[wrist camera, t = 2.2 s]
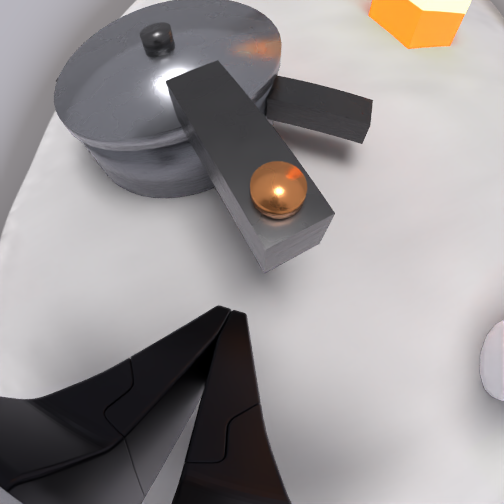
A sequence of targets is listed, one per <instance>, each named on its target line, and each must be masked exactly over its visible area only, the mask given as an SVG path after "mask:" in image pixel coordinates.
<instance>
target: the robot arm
mask: <svg viewBox="0 0 504 504" xmlns="http://www.w3.org/2000/svg"><path fill="white" fill-rule="evenodd" d="M201 396H202V397H201ZM200 398H201V401H200V405H199V409H198V413H197V416H196V420H195V424H194V428H193V432H192V435H191V439H190V443H189V447H188V451H187V455H186V458H185V464H184V466H183V470H182V474H181V477H180V480H179V484H178V487H177V490H176V493H175V495H174V498H173V501H172V504H292V503H291V501H290V499H289V497H288V495H287V492H286V490H285V487H284V484H283V481H282V479H281V476H280V473H279V470H278V467H277V464H276V462H275V459H274V456H273V453H272V450H271V447H270V443H269V440H268V436H267V433H266V428H265V424H264V419H263V414H262V408H261V404H260V396H259V390H258V384H257V378H256V371H255V365H254V359H253V352H252V346H251V340H250V333H249V327H248V320H247V315H246V314H245V313H243V312H239V311H236V310H233V311H231V309H229V308H226V307H223V306H216V307H214V308H213V309H211V310H209V311H208V312H206V313H204V314H203V315H201V316H199V317H198V318H196V319H194V320H193V321H191V322H189V323H188V324H186V325H184V326H183V327H181V328H179V329H178V330H176V331H174V332H172V333H171V334H169V335H167V336H166V337H164V338H162V339H161V340H159V341H157V342H156V343H154V344H152V345H150V346H149V347H147V348H145V349H144V350H142V351H140V352H138V353H137V354H135V355H133V356H131V359H130V358H128V359H126V360H124V361H123V362H121V363H119V364H117V365H115V366H114V367H112V368H110V369H108V370H106V371H104V372H102V373H100V374H98V375H95V376H93V377H91V378H89V379H87V380H84V381H82V382H79V383H77V384H74V385H72V386H69V387H67V388H64V389H62V390H59V391H57V392H54V393H52V394H49V395H46V396H43V397H40V398H35V399H15V398H7V397H0V504H141V503H142V501H143V500H144V497H145V496H146V494H147V492H148V491H149V489H150V487H151V486H152V484H153V482H154V480H155V479H156V477H157V475H158V473H159V472H160V470H161V468H162V466H163V464H164V463H165V461H166V459H167V457H168V456H169V454H170V452H171V450H172V449H173V447H174V445H175V443H176V441H177V440H178V438H179V436H180V434H181V432H182V431H183V429H184V427H185V425H186V423H187V422H188V420H189V418H190V416H191V414H192V413H193V411H194V409H195V407H196V405H197V403H198V402H199V400H200Z"/></svg>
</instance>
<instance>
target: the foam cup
mask: <svg viewBox="0 0 504 504" xmlns="http://www.w3.org/2000/svg"><path fill="white" fill-rule="evenodd" d="M480 376H481V379H482V383H483V386H484V389H485V390H486V391H487V392H488V393H489V394H490V395H491V396H492V397H493V398H497V399H498V400H501V401H504V320H503V321H501V322H499V323H497V324H495V326H494V327H493V328H492V329H491V331H490V332H489V333H488V334H487V336H486V338H485V342H484V345H483V347H482V350H481V353H480Z"/></svg>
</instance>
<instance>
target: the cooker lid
mask: <svg viewBox="0 0 504 504" xmlns="http://www.w3.org/2000/svg"><path fill="white" fill-rule="evenodd" d="M280 59H281V38H280V34H279V32H278V30H277V28H276V26H275V25H274V24H273V22H272V21H271V20H270V19H269V18H267V17H266V16H265V15H264V14H262V13H261V12H259V11H258V10H256V9H254V8H252V7H249V6H247V5H244V4H241V3H238V2H234V1H230V0H172V1H167V2H163V3H158V4H155V5H151V6H148V7H145V8H142V9H140V10H137V11H134V12H132V13H130V14H128V15H125V16H123V17H121V18H119V19H117V20H116V21H114V22H112V23H110V24H109V25H107V26H106V27H104V28H102V29H101V30H100V31H98V32H97V33H96V34H94V35H93V36H92V37H90V38H89V39H88V40H87V41H86V42H85V43H83V45H81V47H80V48H79V49H78V50H77V51H76V52H75V53H74V54H73V55H72V57H71V58H70V59H69V60H68V62H67V63H66V65H65V66H64V68H63V70H62V72H61V74H60V75H59V78H58V80H57V83H56V86H55V92H54V105H55V109H56V112H57V114H58V116H59V118H60V119H61V121H62V122H63V123H64V125H65V126H66V128H67V129H68V130H69V131H70V132H71V133H72V135H73V136H74V137H76V138H77V139H79V140H80V141H82V142H83V143H86V144H88V145H90V146H93V147H96V148H100V149H105V150H114V151H139V150H147V149H155V148H159V147H164V146H169V145H173V144H176V143H180V142H183V141H186V140H189V142H190V143H191V145H192V147H193V149H194V150H195V152H196V154H197V156H198V158H199V159H200V161H201V163H202V165H203V166H204V168H205V170H206V172H207V173H208V175H209V177H210V179H211V180H212V182H213V184H214V186H215V188H216V189H217V191H218V193H219V195H220V196H221V198H222V200H223V202H224V203H225V205H226V207H227V209H228V210H229V212H230V214H231V216H232V218H233V219H234V221H235V223H236V225H237V226H238V228H239V230H240V232H241V233H242V235H243V237H244V239H245V240H246V242H247V244H248V246H249V247H250V249H251V251H252V253H253V255H254V256H255V258H256V260H257V262H258V263H259V265H260V267H261V269H262V270H263V272H264V273H266V272H268V271H270V270H271V269H273V268H275V267H277V266H279V265H281V264H283V263H285V262H286V261H288V260H290V259H292V258H294V257H296V256H298V255H299V254H301V253H303V252H305V251H307V250H309V249H310V248H312V247H314V246H316V245H318V244H319V243H320V241H321V240H322V238H323V236H324V234H325V232H326V230H327V228H328V226H329V224H330V222H331V220H332V218H333V216H334V214H335V213H334V211H333V210H332V208H331V207H330V205H329V204H328V202H327V201H326V199H325V198H324V197H323V195H322V194H321V192H320V191H319V189H318V188H317V186H316V185H315V184H314V182H313V181H312V179H311V178H310V177H309V175H308V174H307V172H306V171H305V170H304V168H303V167H302V165H301V164H300V163H299V161H298V160H297V158H296V157H295V156H294V154H293V153H292V152H291V150H290V149H289V148H288V146H287V145H286V144H285V142H284V141H283V140H282V138H281V137H280V136H279V134H278V133H277V132H276V130H275V129H274V128H273V127H272V125H271V124H270V123H269V121H268V120H267V119H266V118H265V116H264V115H263V114H262V113H261V111H260V110H259V109H258V107H257V106H256V105H255V103H256V102H257V101H258V100H259V99H260V98H261V97H263V96H264V95H265V93H266V92H267V91H268V89H269V88H270V87H271V86H272V84H273V82H274V80H275V78H276V76H277V74H278V71H279V68H280Z"/></svg>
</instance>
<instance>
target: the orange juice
mask: <svg viewBox="0 0 504 504" xmlns="http://www.w3.org/2000/svg"><path fill="white" fill-rule="evenodd" d="M470 3H471V0H372V4H371V8H370V12H369V17H371V18H372V19H373V20H375V21H376V22H377V23H378V24H380V25H381V26H382V27H383V28H384V29H386V30H387V31H388V32H389V33H391V34H392V35H393V36H394V37H395V38H396V39H398V40H399V41H400V42H401V43H402V44H403V45H404V46H405V47H407V48H408V49H411V48H422V47H437V46H450V45H451V42H452V40H453V38H454V36H455V34H456V32H457V30H458V28H459V26H460V24H461V21H462V19H463V17H464V15H465V14H466V12H467V9H468V7H469V5H470Z"/></svg>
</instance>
